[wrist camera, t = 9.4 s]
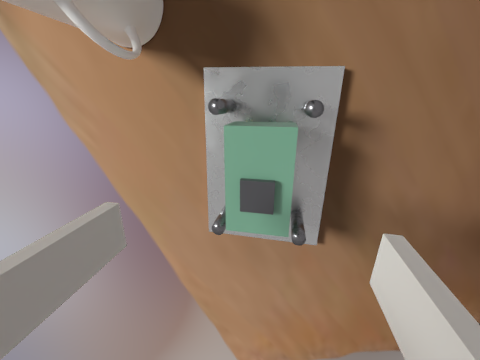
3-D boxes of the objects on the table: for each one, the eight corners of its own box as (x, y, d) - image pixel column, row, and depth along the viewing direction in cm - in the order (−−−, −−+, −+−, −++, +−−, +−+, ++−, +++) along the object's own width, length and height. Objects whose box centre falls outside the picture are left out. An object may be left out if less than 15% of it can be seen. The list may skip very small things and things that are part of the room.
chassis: (206, 68, 24) (183, 58, 19) (342, 67, 22) (361, 55, 16) (211, 227, 31) (194, 254, 25) (315, 240, 28) (322, 274, 23)
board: (235, 121, 22) (221, 126, 18) (295, 122, 21) (298, 128, 17) (235, 209, 26) (224, 233, 21) (288, 214, 25) (288, 240, 20)
